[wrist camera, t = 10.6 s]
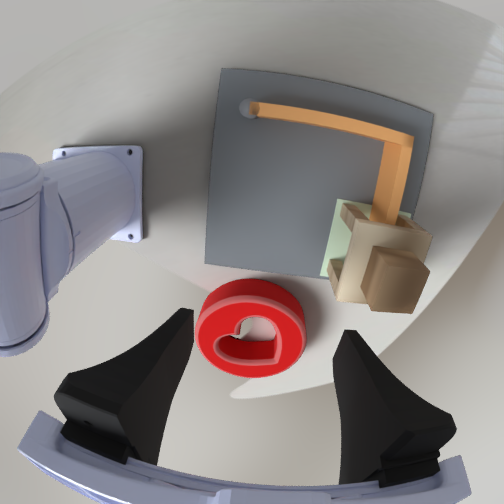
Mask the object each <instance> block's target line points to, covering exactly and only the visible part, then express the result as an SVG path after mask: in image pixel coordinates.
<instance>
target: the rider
mask: <svg viewBox="0 0 504 504" xmlns="http://www.w3.org/2000/svg"><path fill="white" fill-rule="evenodd" d="M340 217H341V218H342V220H343V221H344V222H345V224H346V225H347V227H348V228H349V230H350V231H351V232H352V235H351V239H350V243H349V247H348V250H347V254H346V258H345V261H344V265H343V264H342V261H338V260H330V259H329V263H328V267H327V273H328V276H329V279H330V282H331V285H332V288H333V291H334V294H335V297H336V300H337V301H339V302H350V303H361V304H368V305H369V307H370V309H371V311H377V312H391V313H408V314H412V313H413V311H414V309H415V307H416V304H417V302H418V300H419V298H420V295H421V293H422V291H423V288H424V286H425V284H426V281H427V279H428V276H429V274H430V271H429V270H428V268H427V267H426V266H425V265H424V261H425V258H426V255H427V252H428V249H429V246H430V243H431V240H432V237H433V236H431V235H430V234H429V233H428V232H427V231H425V230H424V229H423V228H422V227H420V226H419V225H418V224H417V223H415V222H414V221H413V220H411V219H410V218H409V217H408V216H405V215H400V214H398V216H397V220H396V223H395V225H390V224H385V223H380V222H375V221H370V220H369V219H368V218H367V217H366V216H365V215H364V214H363V213H362V212H361V211H360V210H359V209H358V208H357V207H356V206H355V205H351V204H345V203H342V208H341V212H340Z"/></svg>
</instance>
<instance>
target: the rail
mask: <svg viewBox="0 0 504 504" xmlns="http://www.w3.org/2000/svg"><path fill="white" fill-rule="evenodd" d="M239 110H240V113H241V114H242V115H243V116H245V117H247V118H249V119H257V118H258V117H260V118H268V119H276V120H283V121H290V122H296V123H302V124H308V125H314V126H319V127H324V128H329V129H334V130H339V131H343V132H348V133H352V134H356V135H360V136H364V137H368V138H372V139H376V140H380V141H383V142H385V143H384V149H383V154H382V160H381V165H380V170H379V175H378V180H377V185H376V189H375V194H374V198H373V203H372V209H371V213H370V217H369V220H370V221H375V222H380V223H385V224H390V225H395V223H396V220H397V216H398V212H399V208H400V204H401V200H402V196H403V192H404V188H405V183H406V179H407V174H408V169H409V164H410V159H411V153H412V148H413V142H414V136H411V135H408V134H405V133H402V132H398V131H395V130H392V129H389V128H385V127H382V126H378V125H375V124H371V123H367V122H364V121H360V120H356V119H352V118H347V117H343V116H339V115H334V114H329V113H324V112H319V111H314V110H309V109H303V108H297V107H291V106H284V105H277V104H269V103H260V102H257V101H256V100H255V99H252V98H247V99H244V100H243V101H242V102H241V103H240V106H239Z"/></svg>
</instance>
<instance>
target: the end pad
mask: <svg viewBox="0 0 504 504" xmlns="http://www.w3.org/2000/svg"><path fill="white" fill-rule="evenodd" d="M342 203H345V204H351V205H355V206H356V207H357V208H358V209H359V210H360V211H361V212H362V213H363V214H364V215H365V216H366V217H367V218H368V219H369V217H370V213H371V209H372V205H369V204H364V203H359V202H354V201H349V200H343V199H338V198H337V203H336V208H335V213H334V217H333V222H332V227H331V231H330V235H329V240H328V244H327V248H326V252H325V256H324V261H323V265H322V269H321V272H320V276H325V277H329V276H328V273H327V267H328V263H329V259H330V260H338V261H342V264H343V265H344V261H345V258H346V254H347V250H348V247H349V243H350V239H351V235H352V232H351V231H350V230H349V228H348V227H347V225H346V224H345V222H344V221H343V220H342V218H341V217H340V212H341V208H342ZM398 214H400V215H405V216H408V217H409V218H410V217H411V213H407V212H402V211H399V212H398Z"/></svg>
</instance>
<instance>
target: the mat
mask: <svg viewBox="0 0 504 504" xmlns="http://www.w3.org/2000/svg"><path fill="white" fill-rule="evenodd" d="M247 98H252V99H255V100H256V101H257V102H260V103H269V104H277V105H284V106H291V107H297V108H303V109H309V110H314V111H319V112H324V113H329V114H334V115H339V116H343V117H347V118H352V119H356V120H360V121H364V122H367V123H371V124H375V125H378V126H382V127H385V128H389V129H392V130H395V131H398V132H402V133H405V134H408V135H411V136H414V142H413V148H412V153H411V159H410V164H409V169H408V174H407V179H406V183H405V188H404V192H403V196H402V200H401V204H400V208H399V211H402V212H407V213H411V217H410V219H411V220H412V219H413V215H414V212H415V208H416V204H417V200H418V196H419V192H420V188H421V183H422V179H423V174H424V169H425V164H426V159H427V154H428V148H429V142H430V136H431V129H432V122H433V114H431V113H429V112H426V111H424V110H421V109H419V108H416V107H413V106H411V105H408V104H405V103H402V102H399V101H396V100H393V99H390V98H387V97H384V96H381V95H378V94H374V93H371V92H367V91H364V90H360V89H356V88H352V87H348V86H344V85H340V84H336V83H331V82H327V81H322V80H317V79H312V78H306V77H300V76H294V75H287V74H280V73H273V72H264V71H254V70H242V69H225V68H221V76H220V83H219V91H218V100H217V108H216V117H215V127H214V136H213V147H212V158H211V169H210V181H209V195H208V209H207V225H206V243H205V264H211V265H219V266H226V267H233V268H241V269H248V270H256V271H263V272H271V273H279V274H287V275H295V276H303V277H311V278H319V279H328V280H330V279H329V277H325V276H320V272H321V269H322V265H323V261H324V256H325V252H326V248H327V244H328V240H329V235H330V231H331V227H332V222H333V217H334V213H335V208H336V203H337V198H338V199H343V200H349V201H354V202H359V203H364V204H369V205H372V203H373V198H374V194H375V189H376V185H377V180H378V175H379V170H380V165H381V160H382V154H383V149H384V143H385V142H383V141H380V140H376V139H372V138H368V137H364V136H360V135H356V134H352V133H348V132H343V131H339V130H334V129H329V128H324V127H319V126H314V125H308V124H302V123H296V122H290V121H283V120H276V119H268V118H260V117H258V118H257V119H249V118H247V117H245V116H243V115H242V114H241V113H240V110H239V106H240V103H241V102H242V101H243V100H244V99H247Z"/></svg>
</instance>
